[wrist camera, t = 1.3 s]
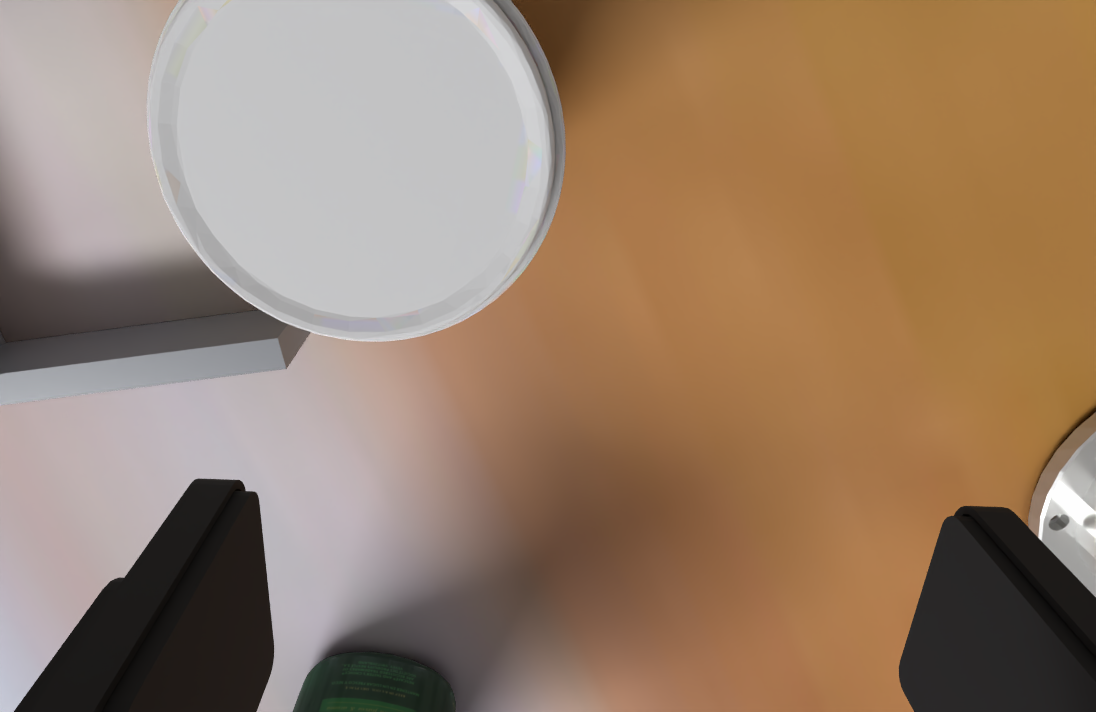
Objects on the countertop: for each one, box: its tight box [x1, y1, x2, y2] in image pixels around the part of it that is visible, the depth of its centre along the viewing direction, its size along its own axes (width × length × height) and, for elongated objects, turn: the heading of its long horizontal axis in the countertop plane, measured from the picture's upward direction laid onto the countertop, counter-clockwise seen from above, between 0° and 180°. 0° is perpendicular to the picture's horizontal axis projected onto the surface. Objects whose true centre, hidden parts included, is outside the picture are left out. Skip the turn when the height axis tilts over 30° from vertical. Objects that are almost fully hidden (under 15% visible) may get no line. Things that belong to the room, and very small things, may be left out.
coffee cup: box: [147, 0, 566, 341], centre depth 23 cm, size 9×9×12 cm
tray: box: [0, 310, 310, 405], centre depth 27 cm, size 13×16×4 cm
